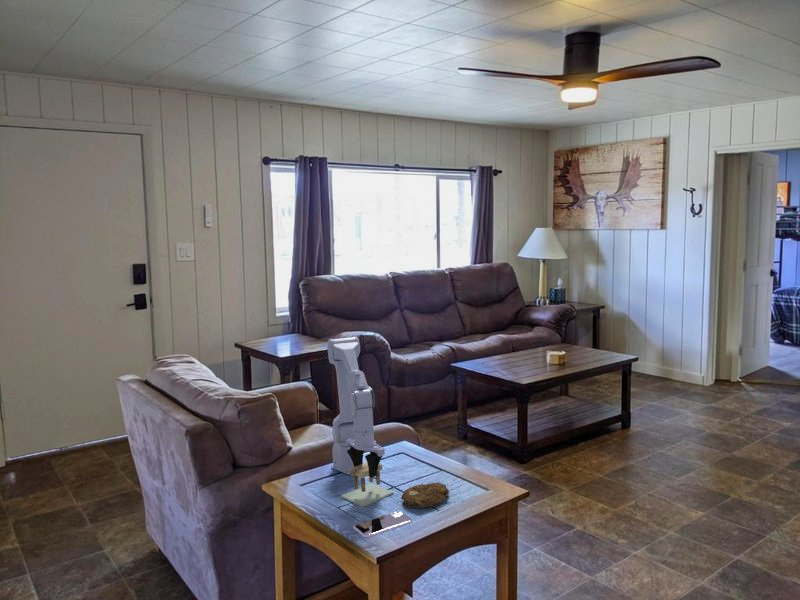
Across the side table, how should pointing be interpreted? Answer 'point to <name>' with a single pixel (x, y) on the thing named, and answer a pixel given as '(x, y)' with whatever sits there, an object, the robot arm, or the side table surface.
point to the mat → (367, 495)
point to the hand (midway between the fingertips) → (366, 474)
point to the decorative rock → (424, 495)
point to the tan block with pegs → (364, 475)
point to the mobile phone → (382, 524)
